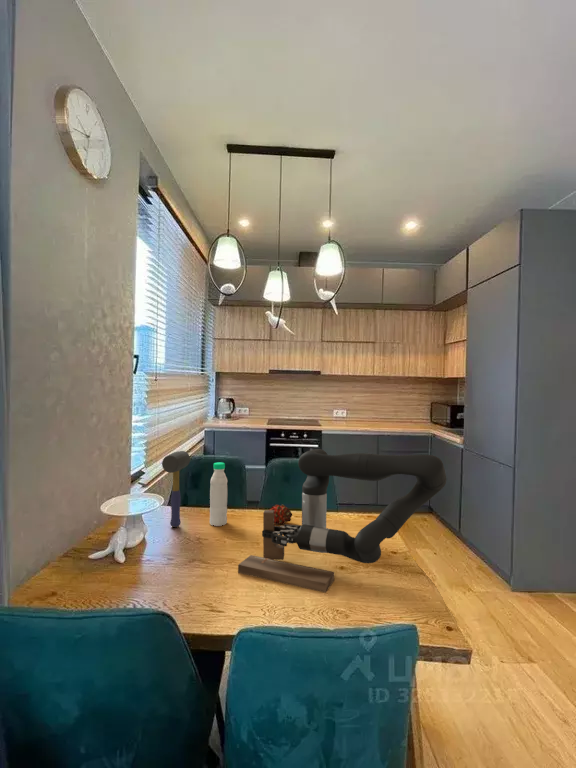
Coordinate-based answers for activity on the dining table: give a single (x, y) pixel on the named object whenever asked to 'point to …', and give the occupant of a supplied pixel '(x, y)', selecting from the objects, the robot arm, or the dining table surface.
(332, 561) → the dining table surface
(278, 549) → the wooden block
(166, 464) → the rubber mallet
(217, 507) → the water bottle
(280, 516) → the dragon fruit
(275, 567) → the walnut plank
